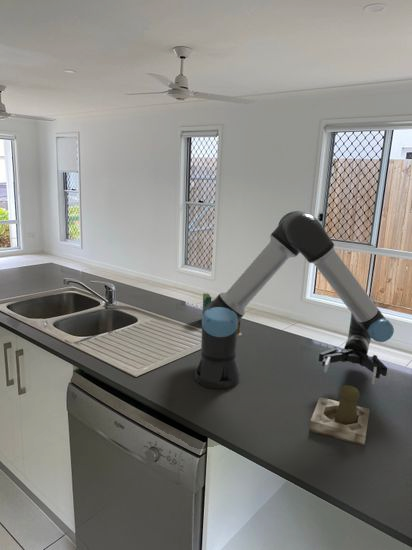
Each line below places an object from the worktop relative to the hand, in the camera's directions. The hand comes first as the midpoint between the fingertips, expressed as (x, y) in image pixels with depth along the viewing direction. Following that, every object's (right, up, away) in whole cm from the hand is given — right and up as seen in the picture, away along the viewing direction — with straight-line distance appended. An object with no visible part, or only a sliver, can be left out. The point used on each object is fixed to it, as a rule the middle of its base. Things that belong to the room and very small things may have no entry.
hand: (348, 374), depth 118 cm
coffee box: (-42, +7, +73) cm, 85 cm away
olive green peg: (-4, -12, -7) cm, 15 cm away
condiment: (-31, +4, +59) cm, 67 cm away
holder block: (-5, -12, -7) cm, 15 cm away
